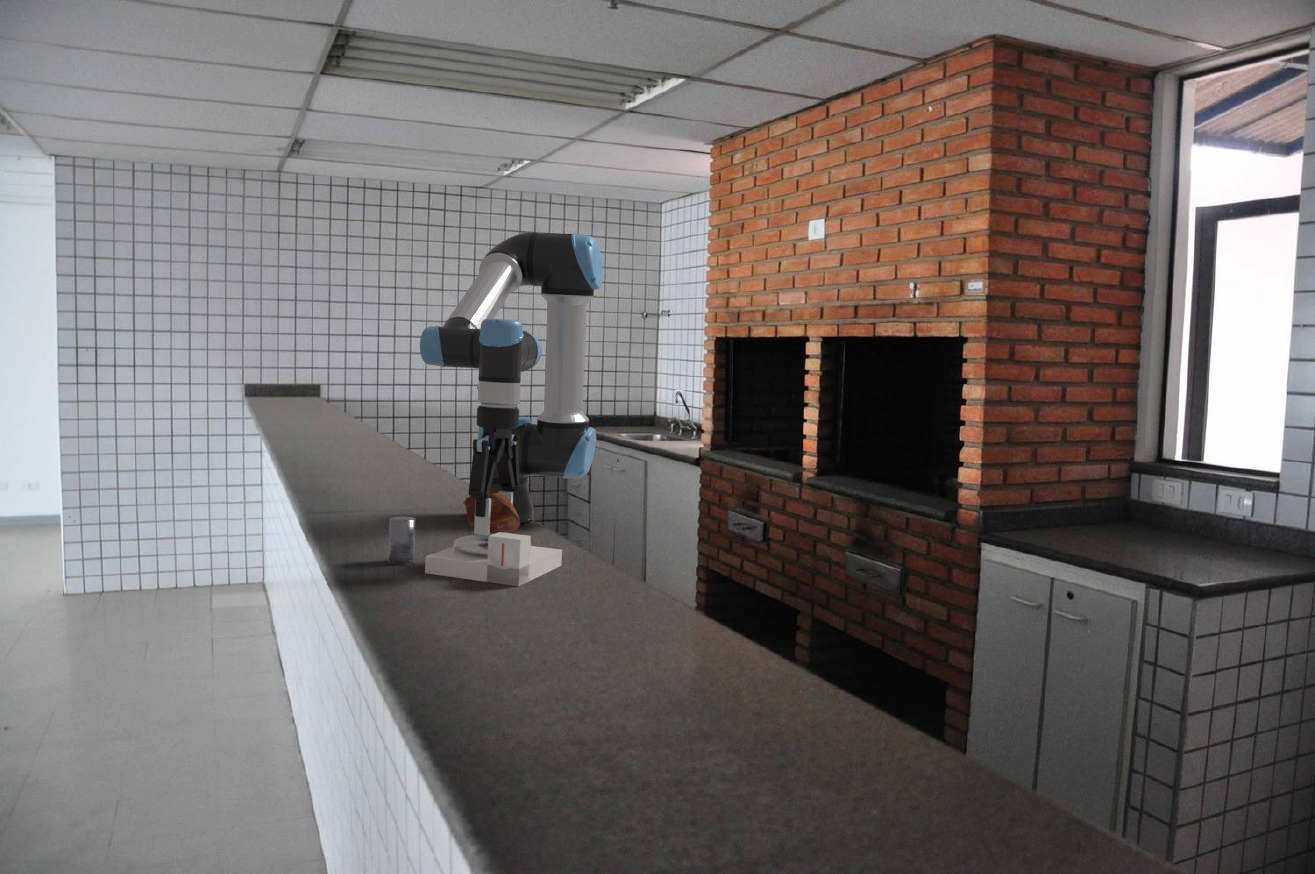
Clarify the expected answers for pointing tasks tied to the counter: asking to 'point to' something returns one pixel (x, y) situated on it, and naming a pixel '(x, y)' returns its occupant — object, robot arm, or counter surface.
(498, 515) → the brown lumpy chunk
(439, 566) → the scale
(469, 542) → the pan
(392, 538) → the metal cylinder
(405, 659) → the counter surface
